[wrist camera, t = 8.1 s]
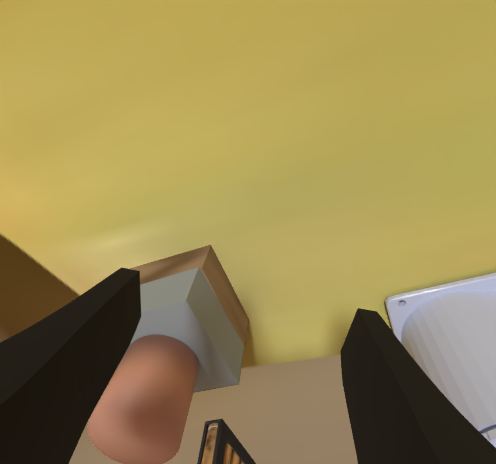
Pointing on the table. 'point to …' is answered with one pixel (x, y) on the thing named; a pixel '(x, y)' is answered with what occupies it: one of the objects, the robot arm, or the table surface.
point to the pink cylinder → (146, 402)
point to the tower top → (193, 325)
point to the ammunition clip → (221, 446)
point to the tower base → (212, 274)
